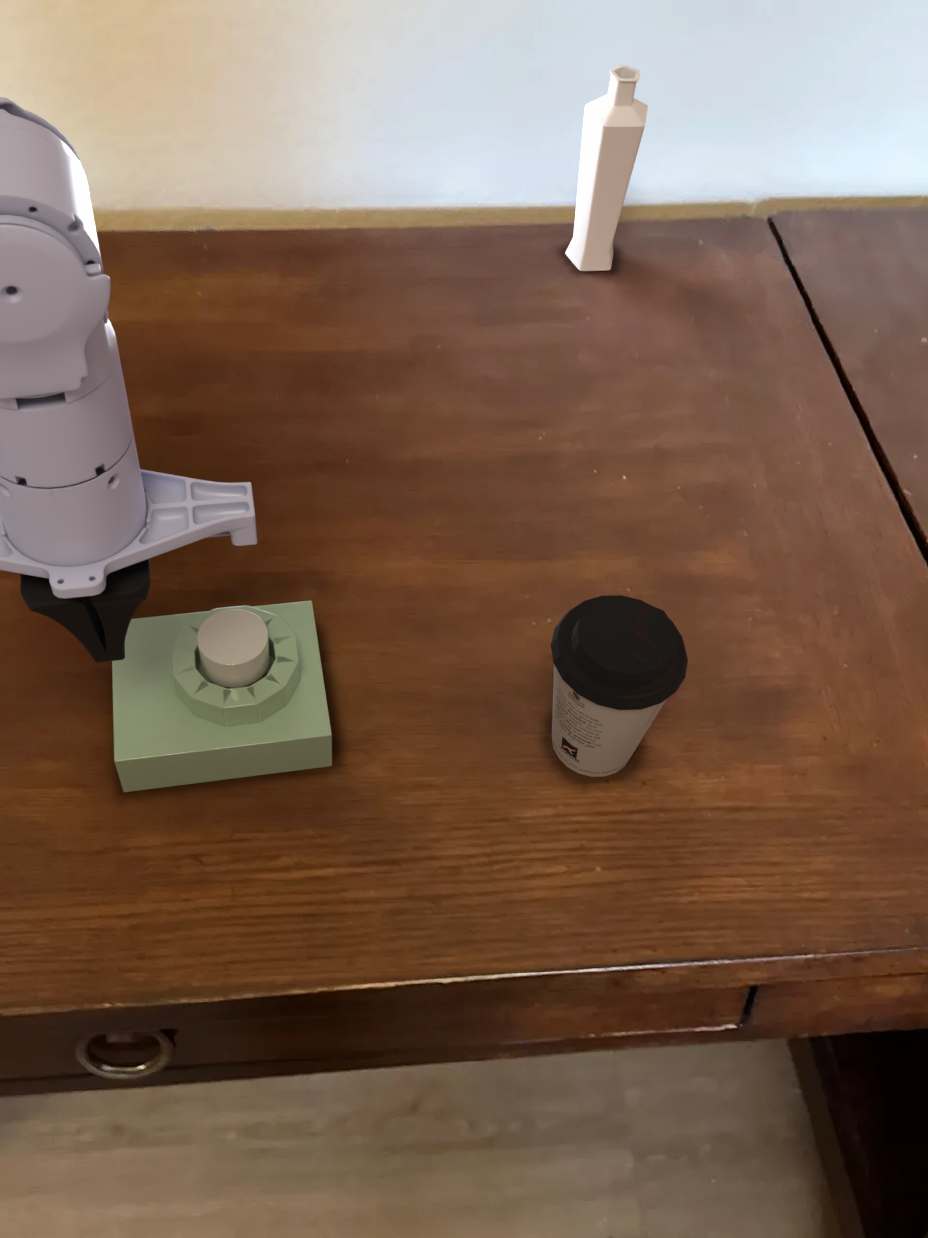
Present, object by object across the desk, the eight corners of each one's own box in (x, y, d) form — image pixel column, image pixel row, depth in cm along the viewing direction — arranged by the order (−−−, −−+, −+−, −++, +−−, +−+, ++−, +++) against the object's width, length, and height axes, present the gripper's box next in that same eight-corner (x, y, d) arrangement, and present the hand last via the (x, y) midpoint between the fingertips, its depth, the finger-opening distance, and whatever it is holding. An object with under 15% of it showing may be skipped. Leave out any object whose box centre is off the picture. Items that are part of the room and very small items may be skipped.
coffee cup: (550, 806, 65) (577, 703, 57) (516, 699, 69) (538, 589, 61) (671, 784, 66) (715, 681, 59) (631, 681, 70) (667, 571, 63)
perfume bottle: (551, 262, 94) (581, 77, 82) (574, 234, 97) (606, 50, 85) (605, 283, 93) (643, 98, 81) (627, 254, 96) (667, 70, 84)
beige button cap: (202, 691, 62) (199, 668, 61) (198, 635, 65) (194, 612, 63) (273, 683, 63) (271, 660, 61) (266, 628, 65) (264, 605, 64)
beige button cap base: (123, 793, 64) (108, 742, 60) (119, 654, 69) (105, 600, 65) (332, 766, 66) (331, 716, 62) (313, 634, 71) (311, 580, 67)
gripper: (-157, 530, 43) (-58, 733, 54) (256, 495, 46) (271, 696, 56) (-137, 394, 47) (-49, 609, 58) (240, 370, 50) (258, 579, 60)
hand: (109, 644), depth 57 cm, fingers closed
